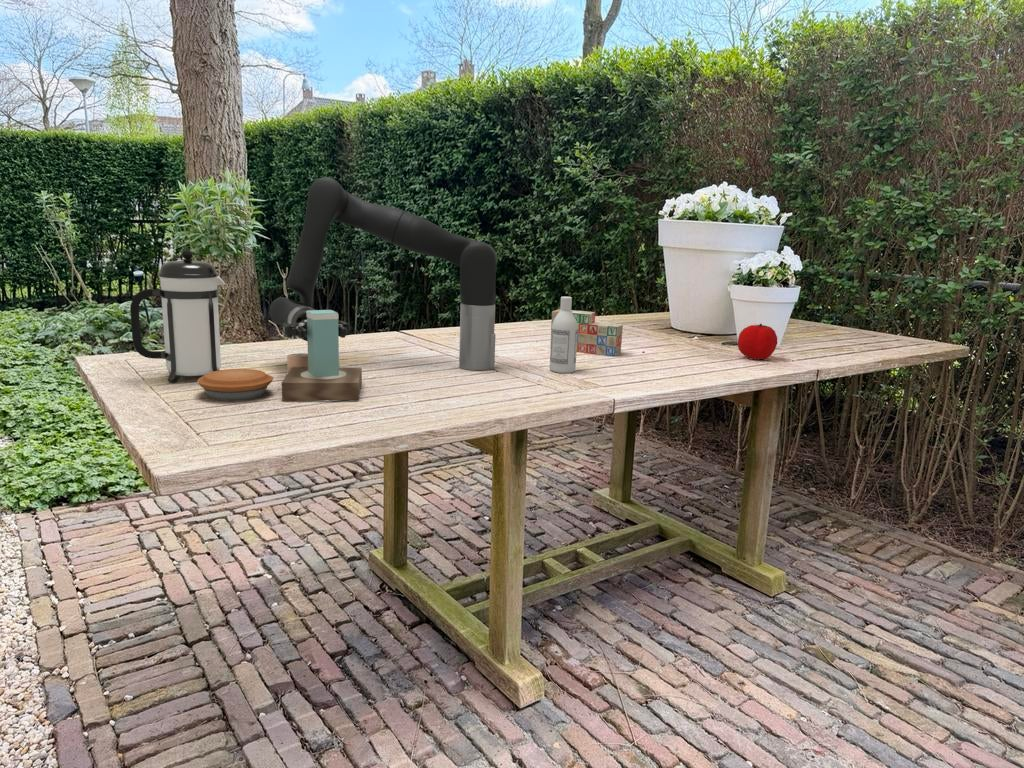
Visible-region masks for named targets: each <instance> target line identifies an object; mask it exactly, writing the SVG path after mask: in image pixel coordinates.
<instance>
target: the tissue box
mask: <svg viewBox="0 0 1024 768" xmlns="http://www.w3.org/2000/svg"><path fill="white" fill-rule="evenodd" d="M362 369H363V368H362V367H344V366H343V367H340V366H339V376H325V377H313V376H312V375H311V374H310V373H309V372H308V367H292V368H291V369H290V371H289V372H288V371H287V374H286V375H285V377H284V378H283V380H282V381H281V401H282V402H316V401H315V400H360V396H361V391H360V390H361V389H362V385H363V382H362V380H363V378H362V373H363V371H362ZM359 395H360V396H359ZM309 400H310V401H309Z"/></svg>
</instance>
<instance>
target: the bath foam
mask: <svg viewBox="0 0 1024 768" xmlns="http://www.w3.org/2000/svg"><path fill="white" fill-rule="evenodd" d="M572 302H573V297H571V296H561V297H560V308H559V309H560V311H559V313H558V314H557V316H556V317H555V319H554V321H553V324H552V332H551V331H550V352H549V353H550V356H549V370H550V371H551V372H552V373H555V374H571V373H574V372H575V371H576V363H577V352H576V351H577V334H578V326H577V321H576V319H575V317H574V315H573V313H572V311H571V310H572V305H573V304H572Z"/></svg>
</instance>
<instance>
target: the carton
mask: <svg viewBox="0 0 1024 768" xmlns="http://www.w3.org/2000/svg"><path fill="white" fill-rule="evenodd" d="M306 313H307V341H306V343H307V354H308V372H309V373H310V374H311V375H312V376H313V377H325V376H339V367H340V356H339V355H340V351H339V347H340V345H339V340H340V339H339V338H340V336H338V321H339V313H338V312H337V311H335V310H332V309H319V310H318V309H314V310H308V311H306Z"/></svg>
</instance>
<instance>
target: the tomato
mask: <svg viewBox="0 0 1024 768" xmlns="http://www.w3.org/2000/svg"><path fill="white" fill-rule="evenodd" d="M777 345H778V336H777V333H776V330H775V329H773V328H772V327H771V326H769V325H764V324H763V323H759V324H756V323H754V324H751V325H748V326H746V327H744V328H742V329H741V331H740V333H739V335H738V339H737V347H738V350H739V352H740V354H742V355H743V356H745V357H746V358H748V359H752V358H753V360H757V359H763V360H766V359H769V358H770V357H771V356H772V354H774V352H775V351H776V348H777Z"/></svg>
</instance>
